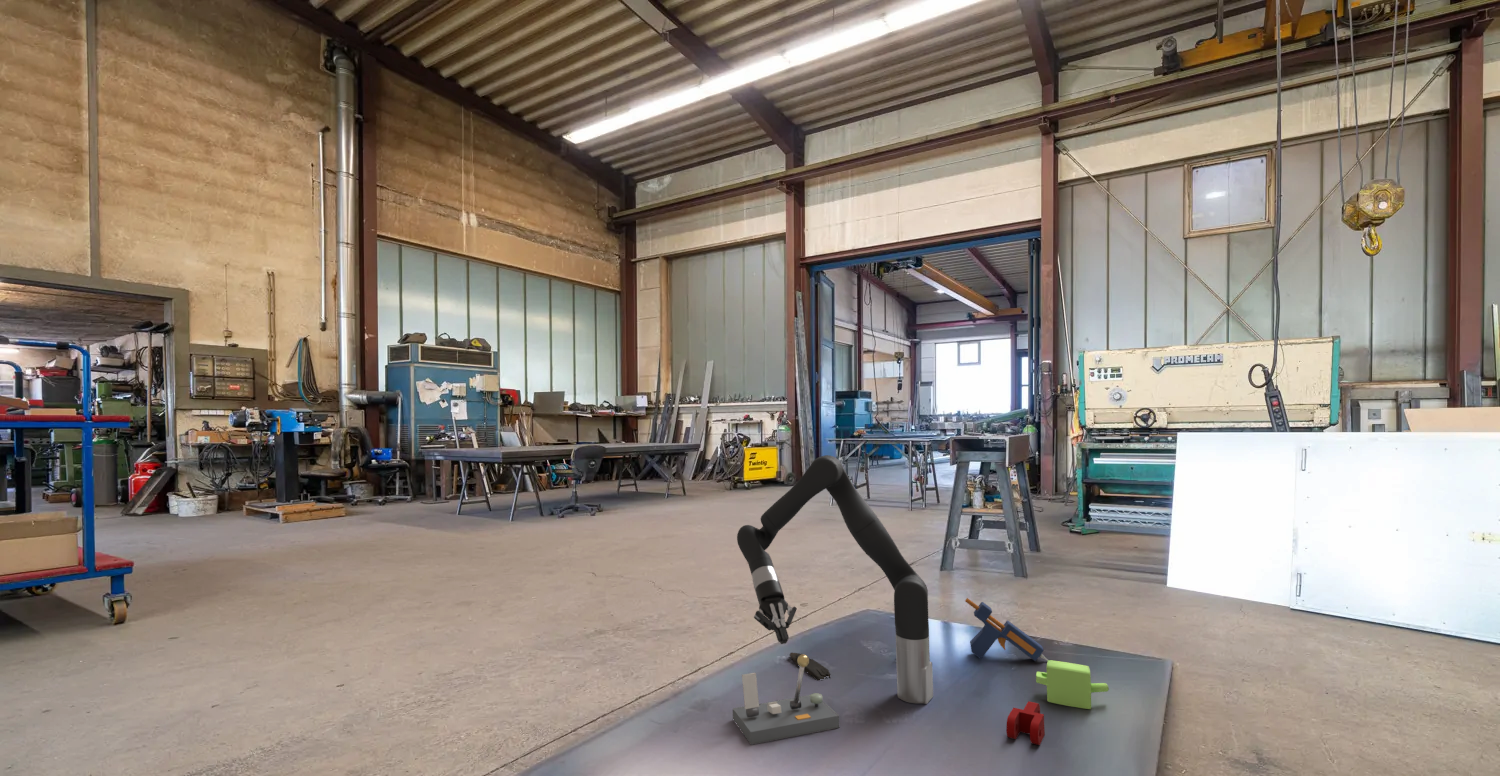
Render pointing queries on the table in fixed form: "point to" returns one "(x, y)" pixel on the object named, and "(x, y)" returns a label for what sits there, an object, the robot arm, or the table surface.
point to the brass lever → (799, 681)
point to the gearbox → (1069, 684)
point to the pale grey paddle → (750, 694)
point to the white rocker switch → (774, 707)
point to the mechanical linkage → (1026, 723)
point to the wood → (812, 667)
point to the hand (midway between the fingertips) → (784, 642)
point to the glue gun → (1001, 635)
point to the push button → (816, 699)
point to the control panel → (785, 720)
